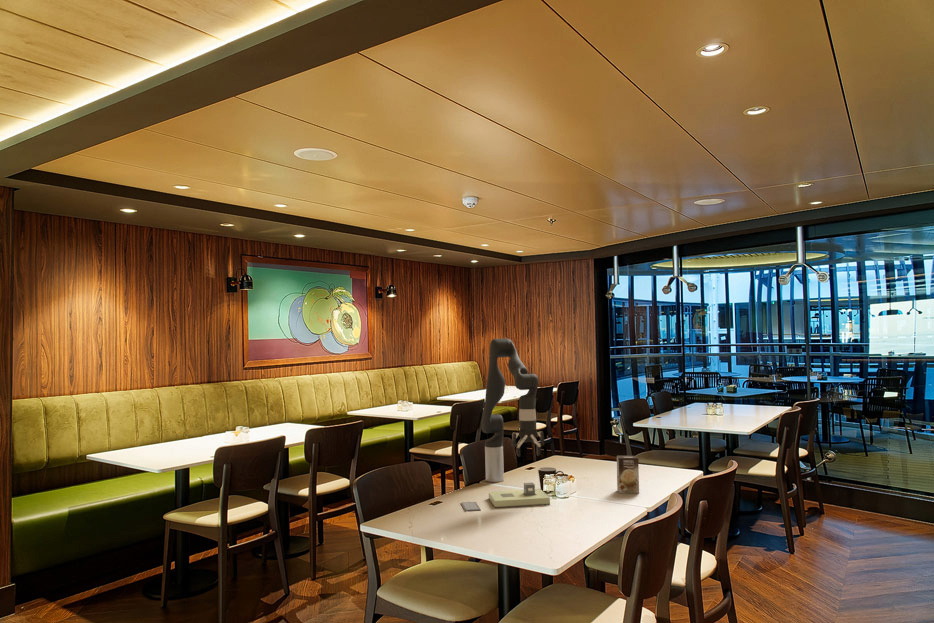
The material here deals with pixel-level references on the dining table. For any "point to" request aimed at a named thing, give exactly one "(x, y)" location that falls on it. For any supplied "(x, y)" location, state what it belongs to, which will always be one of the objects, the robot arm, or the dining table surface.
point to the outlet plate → (518, 498)
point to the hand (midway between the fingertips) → (528, 455)
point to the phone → (470, 506)
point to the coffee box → (627, 474)
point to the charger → (529, 489)
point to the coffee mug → (546, 470)
